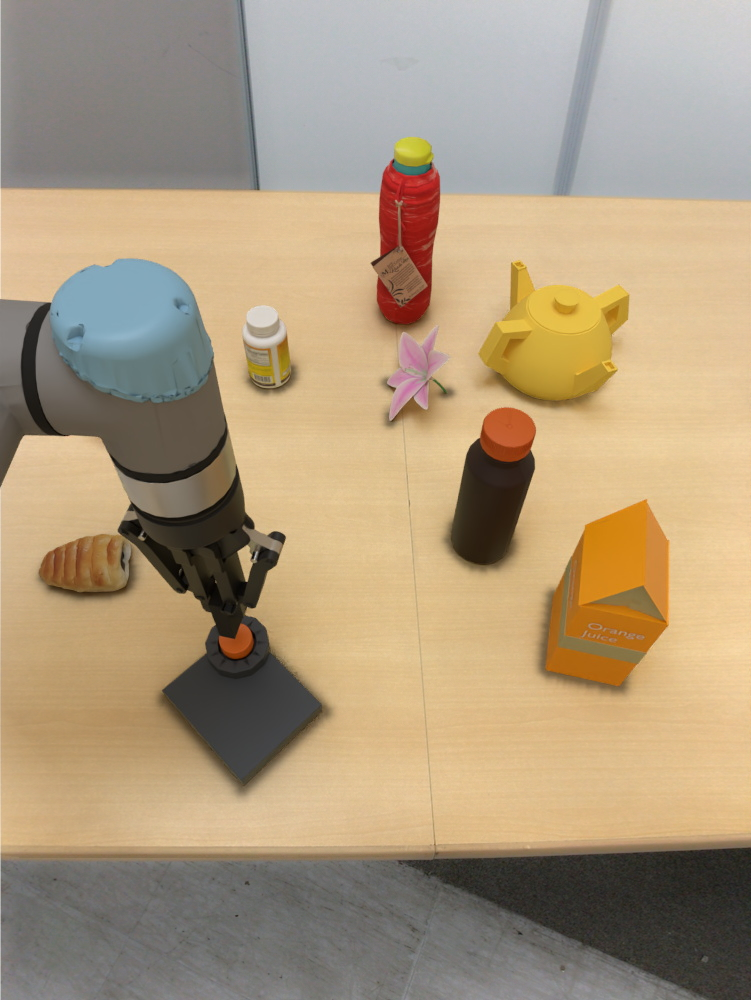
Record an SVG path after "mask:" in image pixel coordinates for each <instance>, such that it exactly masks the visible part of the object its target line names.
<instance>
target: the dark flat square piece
mask: <svg viewBox="0 0 751 1000" xmlns="http://www.w3.org/2000/svg"><path fill="white" fill-rule="evenodd" d="M241 624H244V625H246V626H247V627H248V628H249V629H250V631H251V633H252V637H253V641H254V645H253V648H252V650H251V652H250V653H249V654H248V655H247V656H245V657H243V658H241V659H231V658H229V657H227V656H226V655H225V654H224V653H223V651H222V649H221V646H220V644H219V636H220V635H219V632H218V630H217V627H216V625H215V624H214V625H213V626H212V627H211V628H210V630H209V633H208V635H207V637H206V640H205V642H204V645H205V652H206V653H205V654H203V655H202V656H201V657H200V658H199V659H197V660H196V661H195V662H194V663H193V664H191V665H190V666H189V667H188V668H187V669H185V670H184V671H183V672H182V673H181V674H179V676H177V677H176V678H174V679H173V680H172V681H171V682H170V683H168V684H167V685H166V686H165V687H164V688H163V689H161V691H162V693H163V694H164V696H165V698H166V699H167V700H168V701H169V702H170V703H171V705H172V706H173V707H174V708H175V709H176V710H177V711H178V713H179V714H180V715H181V716H182V717H183V718H184V720H185V721H186V722H187V723H188V724H189V725H190V726H191V727H192V729H193V730H194V731H195V732H196V733H197V734H198V736H199V737H200V738H201V739H202V740H203V741H204V742H205V744H207V746H208V747H209V748H210V749H211V750H212V752H213V753H214V754H215V755H216V756H217V758H218V759H220V761H221V762H222V763H223V764H224V766H226V768H227V769H228V770H229V771H230V772H231V774H232V775H233V776H234V777H235V778H236V779H237V780H238V781H239V782H240V784H241V785H242V786H245V785H246V784H247V783H248V782H250V780H251V779H252V778H254V777H255V776H256V775H257V774H258V773H259V772H260V771H261V770H262V769H263V768H264V767H266V765H267V764H268V763H270V762H271V761H272V760H273V758H275V757H276V756H277V754H279V753H280V752H281V751H282V750H283V749H284V748H286V746H287V745H288V744H289V743H291V742H292V741H293V740H294V739H295V738H296V737H297V736H298V735H299V734H300V733H301V732H302V731H303V730H304V729H305V728H307V726H308V725H309V724H310V723H311V722H313V721H314V720H315V719H316V718H317V717H318V716H319V715H320V714H321V713H322V712H323V706H322V703H321V702H320V701H319V700H318V699H317V698H316V697H315V696H314V695H313V694H312V693H311V692H310V691H309V690H308V689H307V688H306V687H305V686H304V684H302V683H301V682H300V681H299V680H298V679H297V678H296V677H295V676H294V675H293V674H292V673H291V672H290V671H289V670H288V668H286V667H285V666H284V664H283V663H281V661H280V660H278V658H276V656H275V655H274V654H272V652H271V644H270V639H269V635H268V631H267V628H266V627H265V626H264V624H263V623H261V621H260V620H259V619H257V618H256V617H254V616H250V615H246V614H245V615H244V618H243V619H242V621H241Z"/></svg>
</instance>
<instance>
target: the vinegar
mask: <svg viewBox="0 0 751 1000" xmlns="http://www.w3.org/2000/svg"><path fill="white" fill-rule="evenodd" d="M536 435H537V426H536V424H535V421H534V419H533V418H532V417H531V416H530V414H528V413H526V412H524V411H523V410H522V409H518V408H515V407H511V406H510V407H507V406H503V407H499V408H494V409H493V410H491V411H489V413H487V414H486V415H485V417H484V418H483V421H482V425H481V430H480V433H479V437H478V438H477V439H476V440H474V442H473V443H472V444H470V446H469V448H468V450H467V452H466V454H465V459H464V464H463V469H462V474H461V480H460V483H459V489H458V493H457V500H456V504H455V510H454V515H453V520H452V526H451V530H450V541H451V544H452V547H453V549H454V550H455V552H456V553H457V554H458V555H459V556H460V557H461V558H462V559H464V560H466V561H467V562H470V563H473V564H475V565H476V564H478V565H489V564H493V563H495V562H498V561H499V560H501V559H502V558H503V557H504V556H505V555H506V554H507V553H508V552H509V550H510V549H509V548H510V546H511V543H512V541H513V538H514V534H515V531H516V528H517V525H518V522H519V519H520V516H521V513H522V510H523V507H524V503H525V501H526V497H527V494H528V492H529V489H530V486H531V482H532V480H533V476H534V473H535V472H536V471H535V470H536V458H535V455H534V454H533V452H532V451H533V450H532V447H533V444H534V441H535V438H536Z"/></svg>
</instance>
